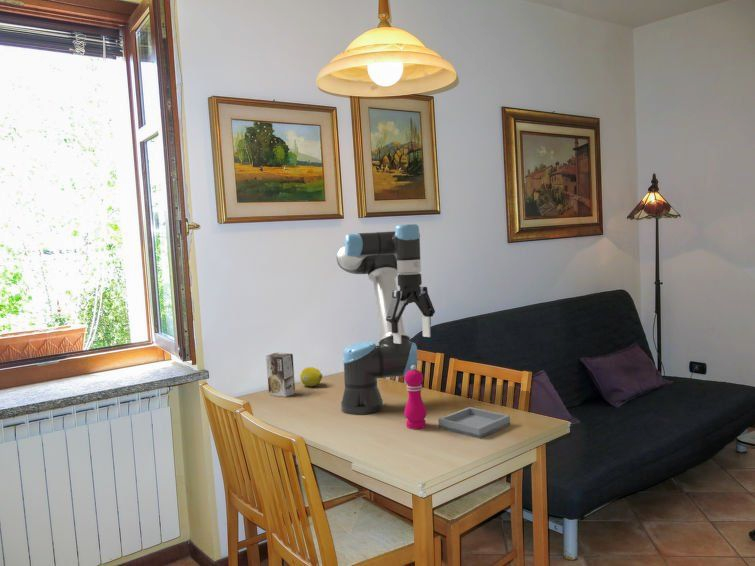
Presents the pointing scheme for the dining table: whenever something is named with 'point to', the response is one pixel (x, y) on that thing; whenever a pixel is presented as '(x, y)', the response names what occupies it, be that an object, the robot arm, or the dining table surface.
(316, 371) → the lemon
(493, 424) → the tray
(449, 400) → the dining table surface
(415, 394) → the pepper mill
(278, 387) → the coffee box
